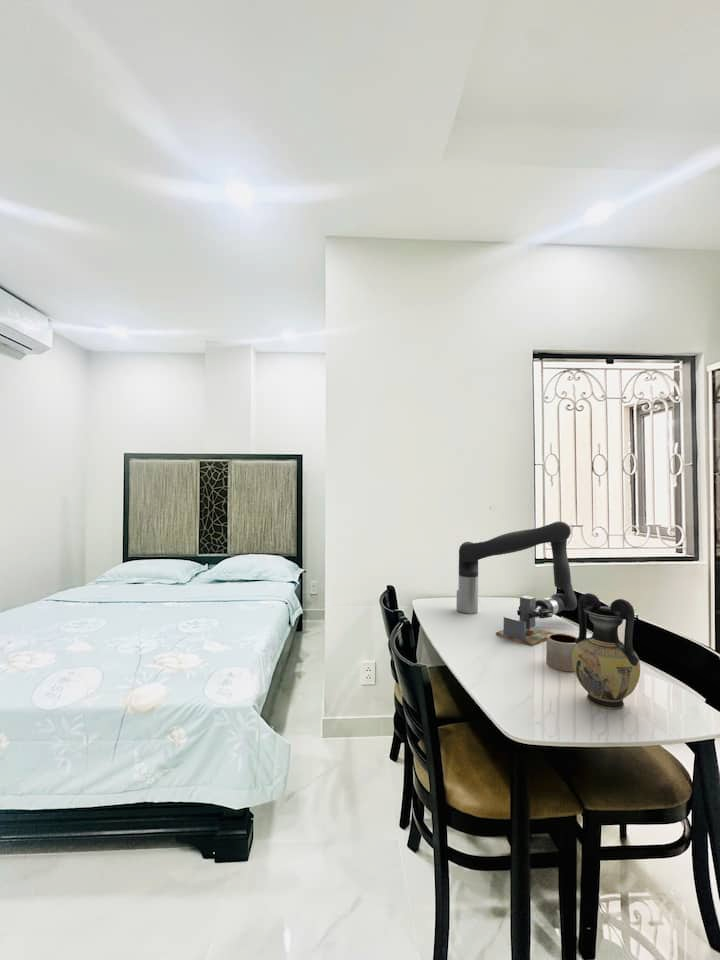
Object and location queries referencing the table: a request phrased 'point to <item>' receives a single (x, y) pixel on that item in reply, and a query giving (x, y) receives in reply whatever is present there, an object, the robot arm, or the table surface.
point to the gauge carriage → (525, 608)
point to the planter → (560, 651)
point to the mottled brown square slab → (528, 637)
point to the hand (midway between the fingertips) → (524, 614)
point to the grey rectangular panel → (515, 628)
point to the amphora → (606, 652)
